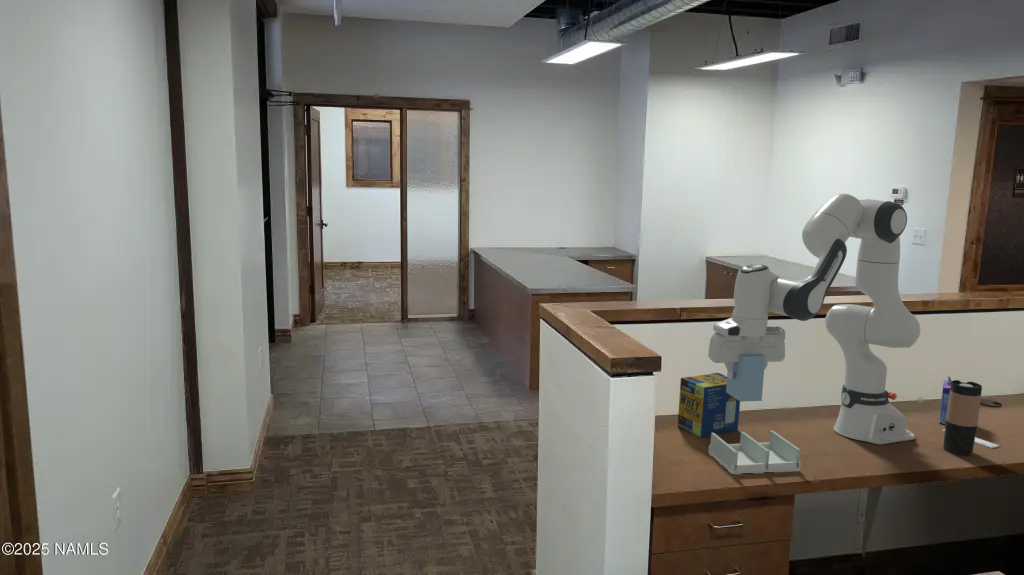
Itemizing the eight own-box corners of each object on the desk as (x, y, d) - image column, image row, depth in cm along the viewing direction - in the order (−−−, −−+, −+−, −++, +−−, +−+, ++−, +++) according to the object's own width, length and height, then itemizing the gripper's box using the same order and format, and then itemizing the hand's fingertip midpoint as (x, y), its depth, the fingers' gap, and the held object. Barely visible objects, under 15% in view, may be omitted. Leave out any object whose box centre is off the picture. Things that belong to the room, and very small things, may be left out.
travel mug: (961, 457, 201) (970, 389, 198) (936, 447, 208) (944, 381, 205) (979, 454, 204) (988, 386, 201) (953, 444, 211) (962, 378, 208)
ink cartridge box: (939, 415, 237) (944, 372, 235) (958, 418, 234) (964, 375, 232) (938, 423, 229) (943, 379, 227) (958, 427, 226) (964, 383, 224)
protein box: (676, 426, 221) (679, 377, 218) (714, 419, 228) (718, 372, 225) (700, 437, 211) (703, 387, 209) (739, 430, 218) (743, 381, 216)
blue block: (746, 391, 195) (750, 348, 193) (761, 400, 187) (765, 356, 185) (725, 392, 194) (729, 348, 192) (740, 401, 186) (743, 356, 184)
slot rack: (772, 450, 203) (774, 430, 202) (799, 471, 189) (802, 449, 188) (708, 453, 200) (709, 432, 199) (732, 474, 186) (733, 452, 185)
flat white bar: (953, 430, 225) (953, 427, 224) (1001, 448, 211) (1002, 444, 211) (942, 432, 222) (942, 428, 222) (990, 449, 209) (991, 446, 209)
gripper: (779, 323, 192) (774, 373, 195) (707, 324, 189) (704, 375, 191) (792, 329, 186) (787, 380, 188) (718, 329, 183) (714, 382, 185)
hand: (744, 377), depth 190 cm, fingers closed on blue block, 6 cm apart
